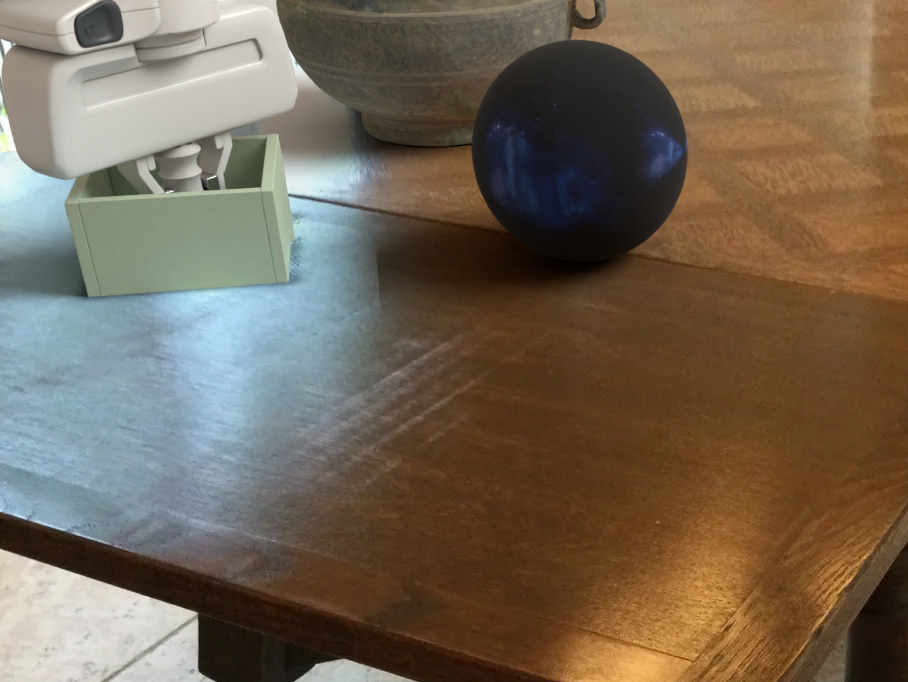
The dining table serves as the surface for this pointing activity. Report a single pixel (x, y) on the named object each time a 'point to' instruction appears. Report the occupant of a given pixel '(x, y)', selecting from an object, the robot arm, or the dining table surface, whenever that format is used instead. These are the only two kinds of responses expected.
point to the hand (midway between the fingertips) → (186, 207)
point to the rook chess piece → (180, 168)
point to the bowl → (420, 56)
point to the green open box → (185, 227)
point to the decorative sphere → (579, 150)
